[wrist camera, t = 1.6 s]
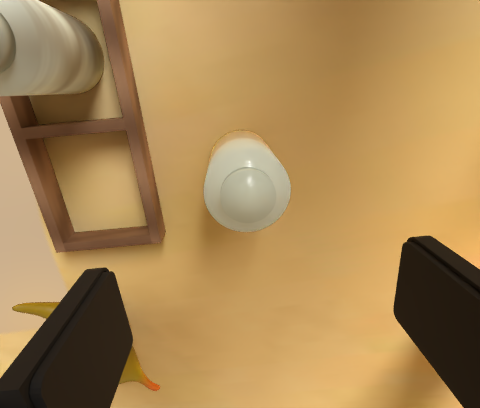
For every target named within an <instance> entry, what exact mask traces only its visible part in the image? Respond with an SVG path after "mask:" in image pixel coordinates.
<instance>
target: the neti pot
mask: <svg viewBox="0 0 480 408" xmlns="http://www.w3.org/2000/svg"><path fill="white" fill-rule="evenodd" d="M59 303H60V302H35V303H23V304H18V305H16V306H14V307H12V309H13V310H14V311H17V312H22V313H28V314H34V315H38V316H41V317H43V318H46V319H47V318H48V317H49V316H50V314H51V313H52V312H53V311H54V309H55V308H56V307H57V305H58V304H59ZM131 381H135V382H139V383H141V384H143V385H145V386H146V387H147V388H149V389H151V390H153V391H157V390H159V389H160V386H159V385H157V384H155V383H153V382H151V381H150V380H149V379H148V378H147V377H146V376H145V374H144V373H143V371H142V369H141V366H140V364H139V361H138V358H137V355H136V353H135V350H134V348H133V346H132V348H131V351H130V354H129V356H128V359H127V362H126V365H125V367H124V370H123V373H122V376H121V378H120V381H119V384H121V383H125V382H131Z"/></svg>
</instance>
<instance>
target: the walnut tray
mask: <svg viewBox="0 0 480 408" xmlns="http://www.w3.org/2000/svg"><path fill="white" fill-rule="evenodd" d="M97 4H98V8H99V13H100V17H101V21H102V26H103V30H104V35H105V39H106V44H107V48H108V52H109V57H110V61H111V66H112V70H113V74H114V79H115V83H116V88H117V92H118V96H119V101H120V105H121V110H122V114H123V117H121V118H110V119H99V120H87V121H76V122H65V123H54V124H42V125H38V123H37V120H36V117H35V114H34V111H33V108H32V106H31V103H30V100H29V97H28V95H53V94H79V93H83V92H86V91H88V90H90V89H92V88H93V87H94V86H95V85H96V84H97V83H98V82H99V80H100V78H101V76H102V73H103V69H104V56H103V51H102V48H101V45H100V43H99V41H98V39H97V37H96V36H95V34H94V33H93V32H92V31H91V29H90V28H89V27H88V26H87V25H86V24H84V23H83V22H82V21H80V20H78V19H77V18H75V17H73V16H71V15H68V14H66V13H64V12H62V11H60V10H58V9H56V8H54V7H51V6H49V5H47V4H45V3H43V2H41V1H39V0H0V104H1V106H2V109H3V111H4V114H5V117H6V120H7V122H8V125H9V127H10V130H11V133H12V135H13V138H14V141H15V143H16V146H17V149H18V151H19V154H20V157H21V159H22V162H23V165H24V167H25V170H26V173H27V175H28V178H29V181H30V183H31V186H32V189H33V191H34V194H35V197H36V199H37V202H38V205H39V207H40V210H41V213H42V215H43V218H44V221H45V223H46V226H47V229H48V231H49V234H50V237H51V239H52V242H53V244H54V247H55V250H56V252H57V253H58V252H68V251H79V250H90V249H100V248H111V247H121V246H132V245H143V244H153V243H161V242H162V239H163V237H164V235H165V232H166V231H165V227H164V222H163V217H162V212H161V207H160V202H159V197H158V192H157V187H156V182H155V177H154V172H153V167H152V162H151V157H150V152H149V147H148V142H147V138H146V133H145V128H144V123H143V118H142V113H141V108H140V103H139V98H138V93H137V88H136V83H135V78H134V73H133V68H132V63H131V58H130V53H129V49H128V44H127V39H126V34H125V29H124V24H123V19H122V14H121V9H120V4H119V0H97ZM124 130H126V132H127V136H128V141H129V145H130V149H131V154H132V158H133V163H134V167H135V172H136V176H137V180H138V185H139V189H140V194H141V198H142V202H143V207H144V211H145V216H146V220H147V224H148V226H140V227H130V228H119V229H108V230H98V231H87V232H76V233H74V230H73V227H72V224H71V221H70V218H69V215H68V212H67V209H66V206H65V203H64V200H63V197H62V194H61V191H60V188H59V185H58V182H57V179H56V176H55V174H54V171H53V168H52V165H51V162H50V159H49V156H48V153H47V150H46V147H45V144H44V141H43V138H45V137H56V136H68V135H79V134H90V133H101V132H112V131H124Z"/></svg>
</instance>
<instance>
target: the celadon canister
mask: <svg viewBox="0 0 480 408" xmlns="http://www.w3.org/2000/svg"><path fill="white" fill-rule="evenodd" d="M290 195H291V185H290V180H289V177H288V174H287V172H286V170H285V168H284V167H283V166H282V164H281V163H280V162H279V160H278V159H277V158H276V156H275V155H274V154H273V152H272V151H271V149H270V148H269V147H268V145H267V144H266V143H265V141H264V140H263V139H262V138H261V137H260V136H258V135H257V134H255V133H253V132H250V131H245V130H237V131H232V132H229V133H227V134H225V135H224V136H222V137H221V138H220V139H219V140H218V141H217V142H216V144H215V145H214V147H213V149H212V152H211V156H210V161H209V165H208V170H207V174H206V179H205V183H204V200H205V204H206V207H207V209H208V211H209V213H210V214H211V215H212V217H213V218H214V219H215V220H216V221H217V222H218V223H220V224H221V225H223V226H224V227H226V228H229V229H231V230H234V231H239V232H253V231H258V230H261V229H264V228H266V227H268V226H270V225H271V224H273V223H274V222H275V221H276V220H278V219H279V218H280V216H281V215H282V214H283V213H284V211H285V210H286V208H287V205H288V203H289V200H290Z"/></svg>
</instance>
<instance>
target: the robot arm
mask: <svg viewBox="0 0 480 408" xmlns="http://www.w3.org/2000/svg"><path fill="white" fill-rule="evenodd" d="M394 315H395V317H396V319H397V321H398V322H399V323H400V325H401V326H402V327H403V329H404V330H405V331H406V333H407V334H408V335H409V337H410V338H411V339H412V340H413V342H414V343H415V344H416V346H417V347H418V348H419V350H420V351H421V352H422V354H423V355H424V356H425V358H426V359H427V360H428V361H429V363H430V364H431V365H432V367H433V368H434V369H435V371H436V372H437V373H438V375H439V376H440V377H441V379H442V380H443V381H444V382H445V384H446V385H447V386H448V388H449V389H450V390H451V392H452V393H453V394H454V396H455V397H456V398H457V400H458V401H459V402H460V403H461V405H462V406H463V407H464V408H480V270H479V269H478V268H477V267H475V266H474V265H472V264H471V263H469V262H468V261H466V260H465V259H464V258H462V257H461V256H459V255H458V254H456V253H455V252H453V251H452V250H451V249H449V248H448V247H446V246H445V245H443V244H442V243H440V242H439V241H437V240H436V239H435V238H433V237H431V236H419V237H410V238H409V239H408V240H407V242H405V243H404V244H403V246H402V252H401V259H400V266H399V273H398V280H397V287H396V294H395V301H394ZM132 343H133V337H132V332H131V329H130V325H129V322H128V318H127V315H126V312H125V308H124V305H123V301H122V298H121V294H120V291H119V287H118V284H117V280H116V277H115V274H114V272H112V271H111V272H109V270H108V269H107V268H95V269H87V270H85V271H84V272H83V274H82V275H81V276H80V277H79V279H78V280H77V281H76V283H75V284H74V285H73V286H72V288H71V289H70V290H69V291H68V293H67V294H66V295H65V297H64V298H63V299H62V300H61V302H60V303H59V304H58V305H57V307H56V308H55V309H54V311H53V312H52V313H51V314H50V316H49V317H48V318H47V320H46V321H45V322H44V323H43V325H42V326H41V327H40V328H39V330H38V331H37V332H36V334H35V335H34V336H33V337H32V339H31V340H30V341H29V342H28V344H27V345H26V346H25V348H24V349H23V350H22V351H21V353H20V354H19V355H18V356H17V358H16V359H15V360H14V362H13V363H12V364H11V365H10V367H9V368H8V369H7V370H6V372H5V373H4V374H3V376H2V377H1V378H0V408H110V406H111V403H112V400H113V398H114V395H115V392H116V389H117V387H118V384H119V381H120V378H121V376H122V373H123V370H124V367H125V365H126V362H127V359H128V356H129V354H130V351H131V348H132Z"/></svg>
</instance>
